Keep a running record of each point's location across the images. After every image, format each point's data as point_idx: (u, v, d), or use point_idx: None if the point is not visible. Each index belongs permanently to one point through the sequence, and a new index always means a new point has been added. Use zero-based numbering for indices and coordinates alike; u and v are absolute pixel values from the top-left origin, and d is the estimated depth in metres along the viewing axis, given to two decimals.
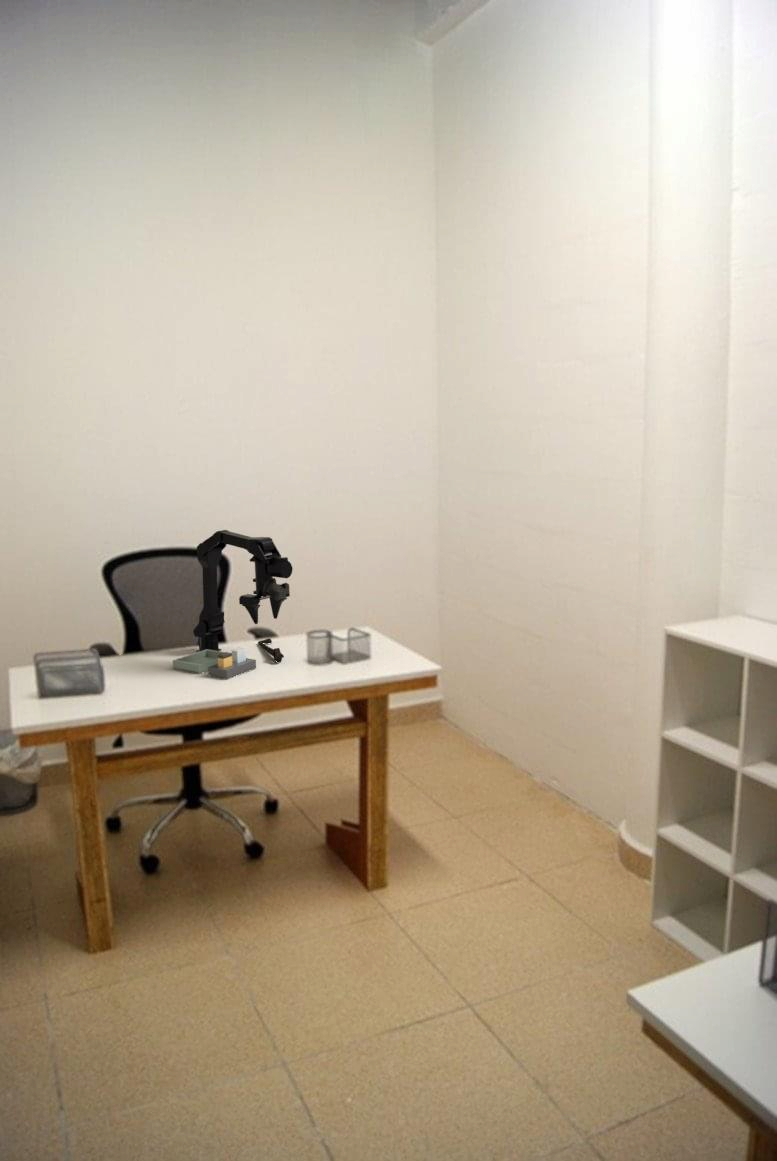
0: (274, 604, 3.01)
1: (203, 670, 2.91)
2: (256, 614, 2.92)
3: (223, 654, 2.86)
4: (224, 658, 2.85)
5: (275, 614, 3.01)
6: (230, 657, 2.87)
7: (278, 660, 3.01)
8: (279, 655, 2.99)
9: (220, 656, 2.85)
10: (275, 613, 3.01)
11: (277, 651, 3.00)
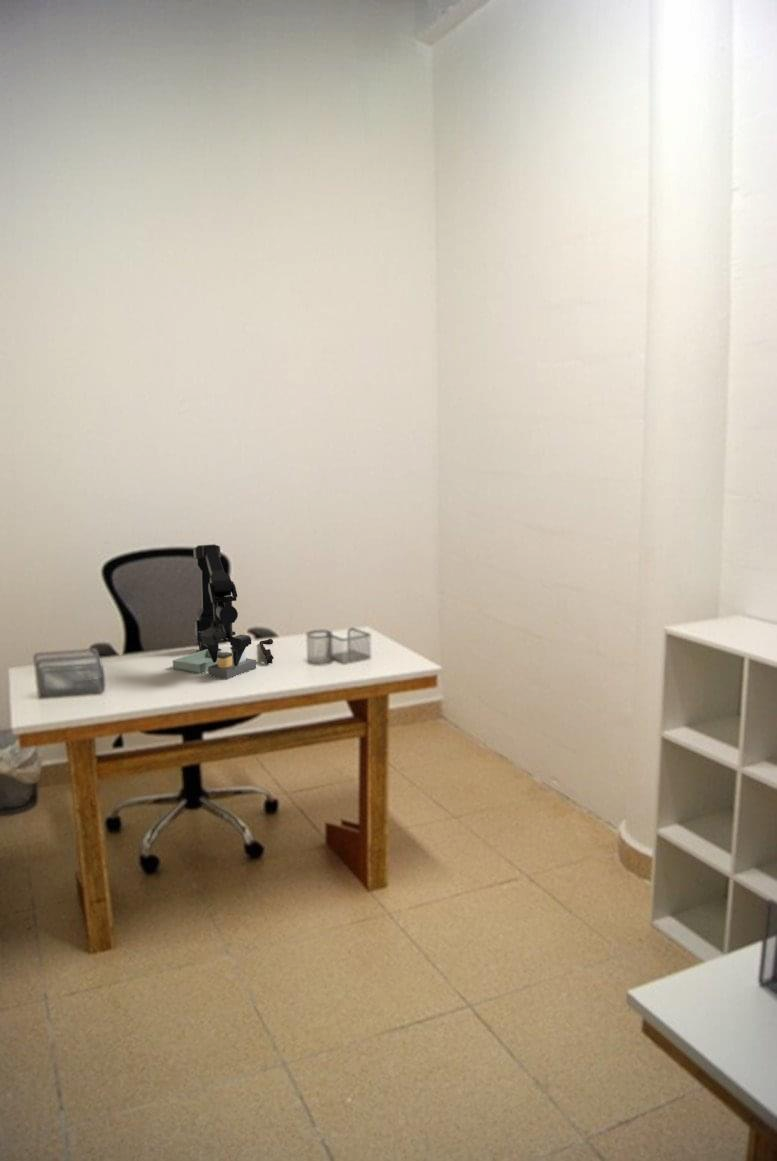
0: None
1: (203, 670, 2.91)
2: (209, 652, 2.89)
3: (223, 654, 2.86)
4: (224, 658, 2.85)
5: None
6: (230, 657, 2.87)
7: (268, 661, 2.99)
8: (269, 656, 2.98)
9: (220, 656, 2.85)
10: None
11: (267, 652, 2.99)
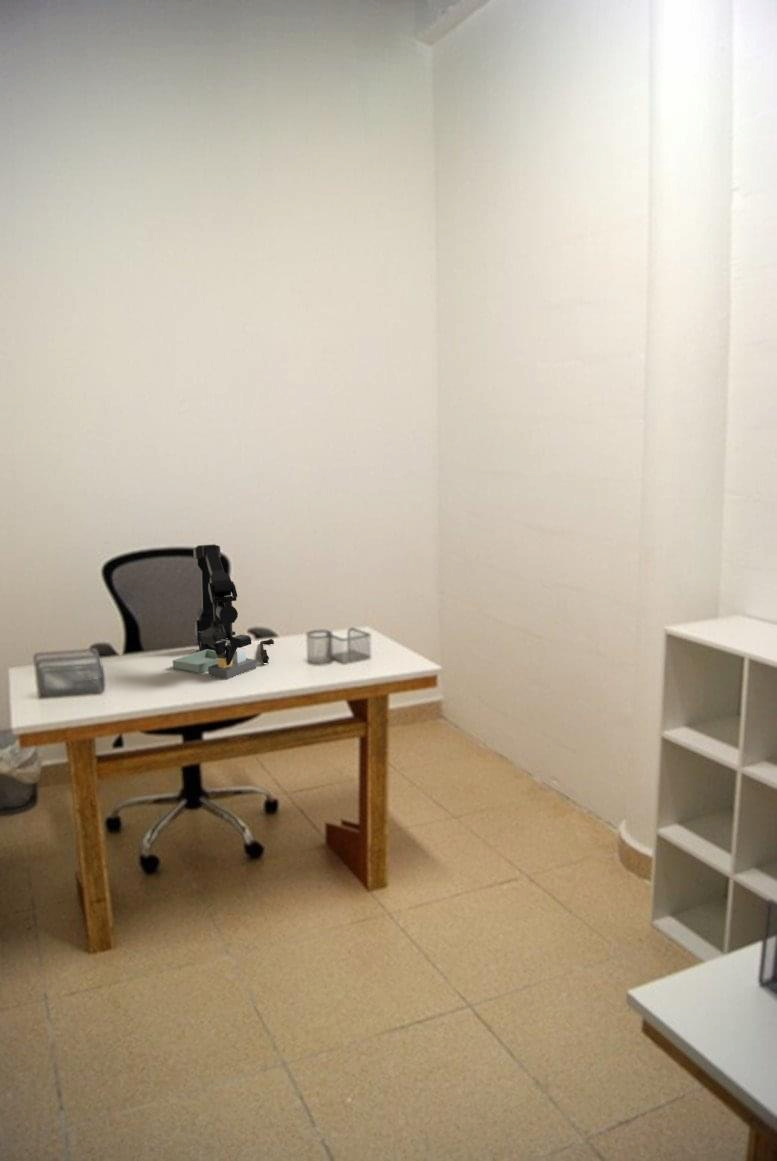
0: None
1: (203, 670, 2.91)
2: (217, 653, 2.87)
3: (223, 654, 2.86)
4: (224, 658, 2.85)
5: None
6: None
7: (264, 662, 2.99)
8: (264, 657, 2.98)
9: (220, 656, 2.85)
10: None
11: (263, 653, 2.99)
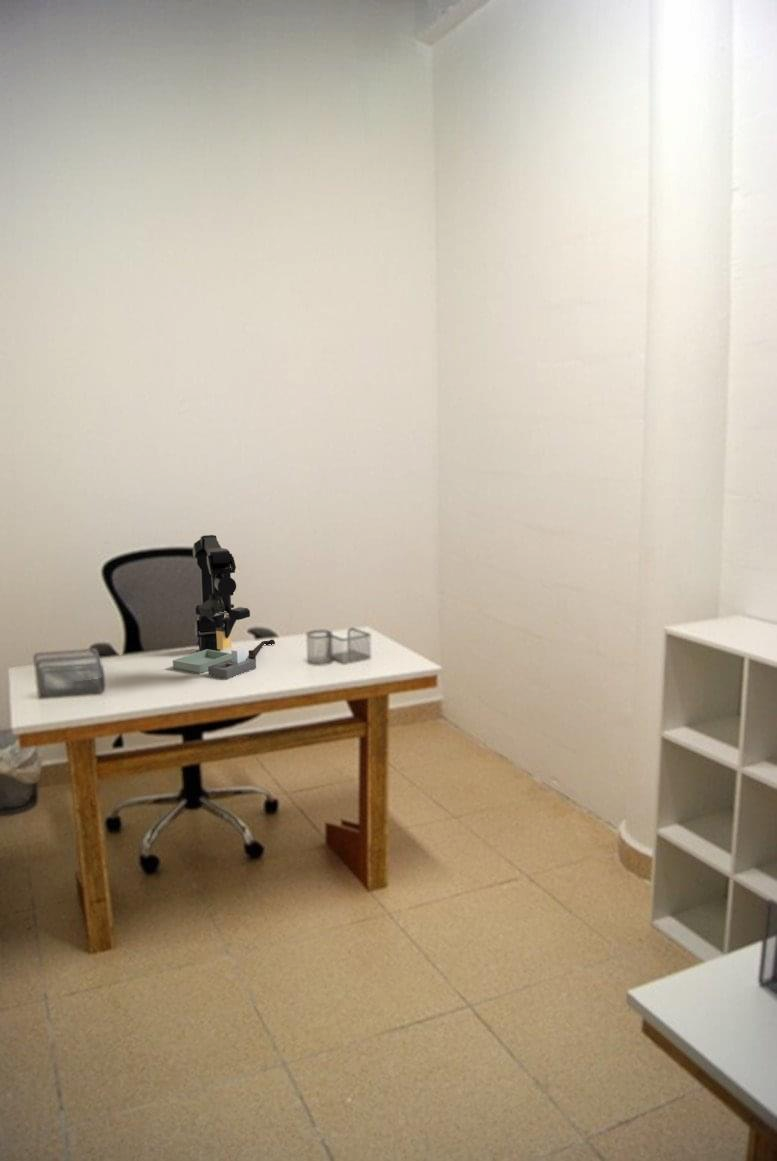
0: None
1: (203, 670, 2.91)
2: (215, 626, 2.85)
3: (222, 627, 2.84)
4: (223, 631, 2.83)
5: None
6: None
7: None
8: (251, 657, 2.97)
9: (219, 629, 2.83)
10: None
11: (250, 653, 2.98)
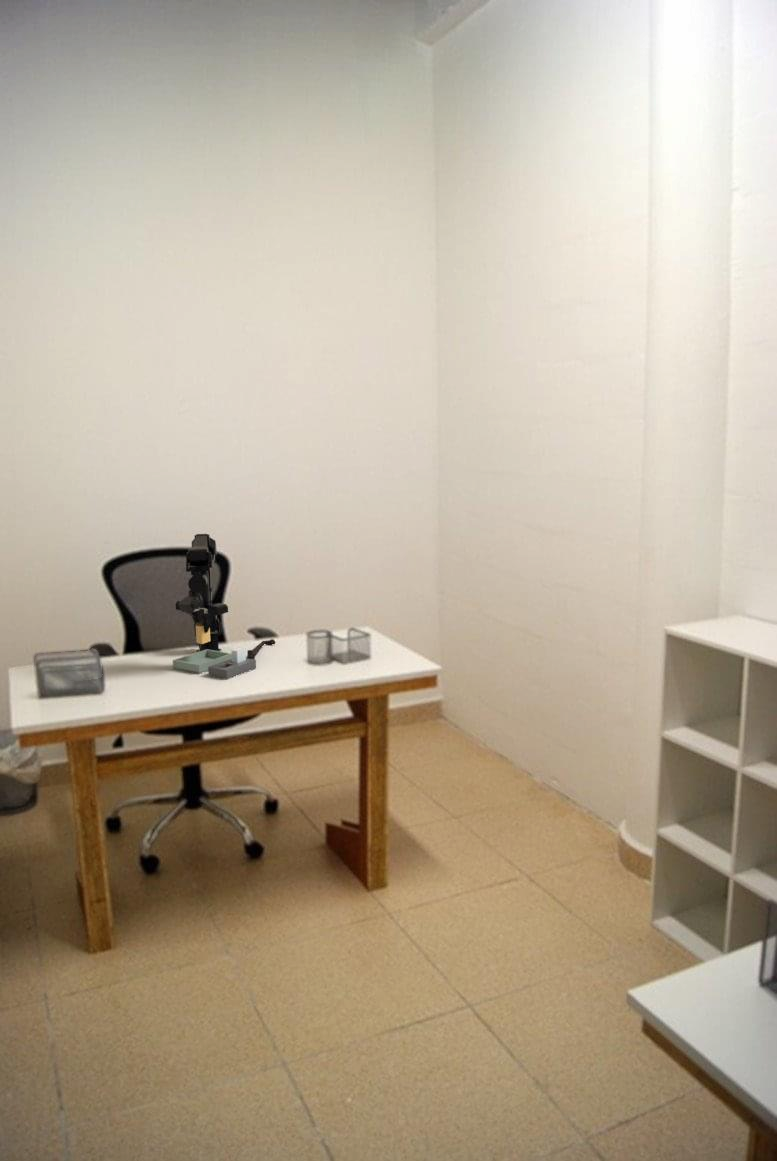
0: None
1: (203, 670, 2.91)
2: (195, 621, 2.96)
3: (201, 622, 2.95)
4: (202, 626, 2.94)
5: None
6: None
7: None
8: (249, 657, 2.97)
9: (198, 624, 2.94)
10: None
11: (249, 653, 2.98)
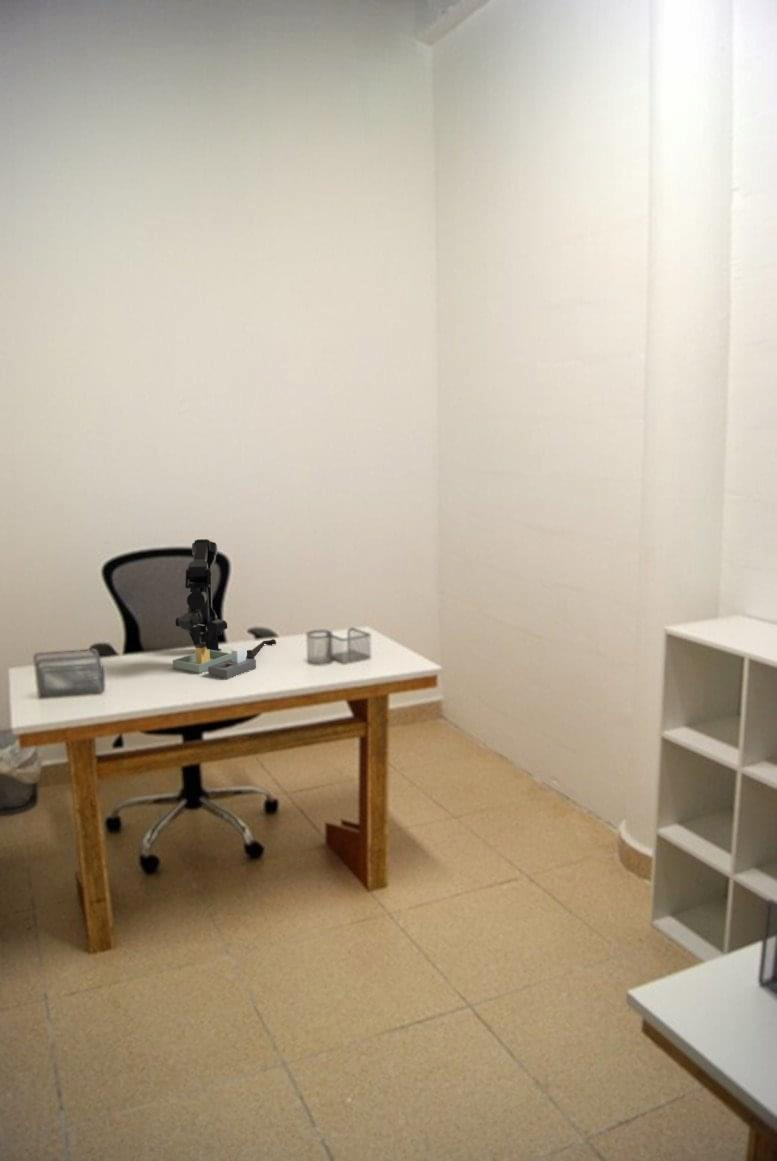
0: None
1: (203, 670, 2.91)
2: (192, 637, 2.98)
3: (200, 644, 2.97)
4: (201, 648, 2.96)
5: None
6: None
7: None
8: (248, 657, 2.97)
9: (197, 646, 2.96)
10: None
11: (248, 653, 2.98)
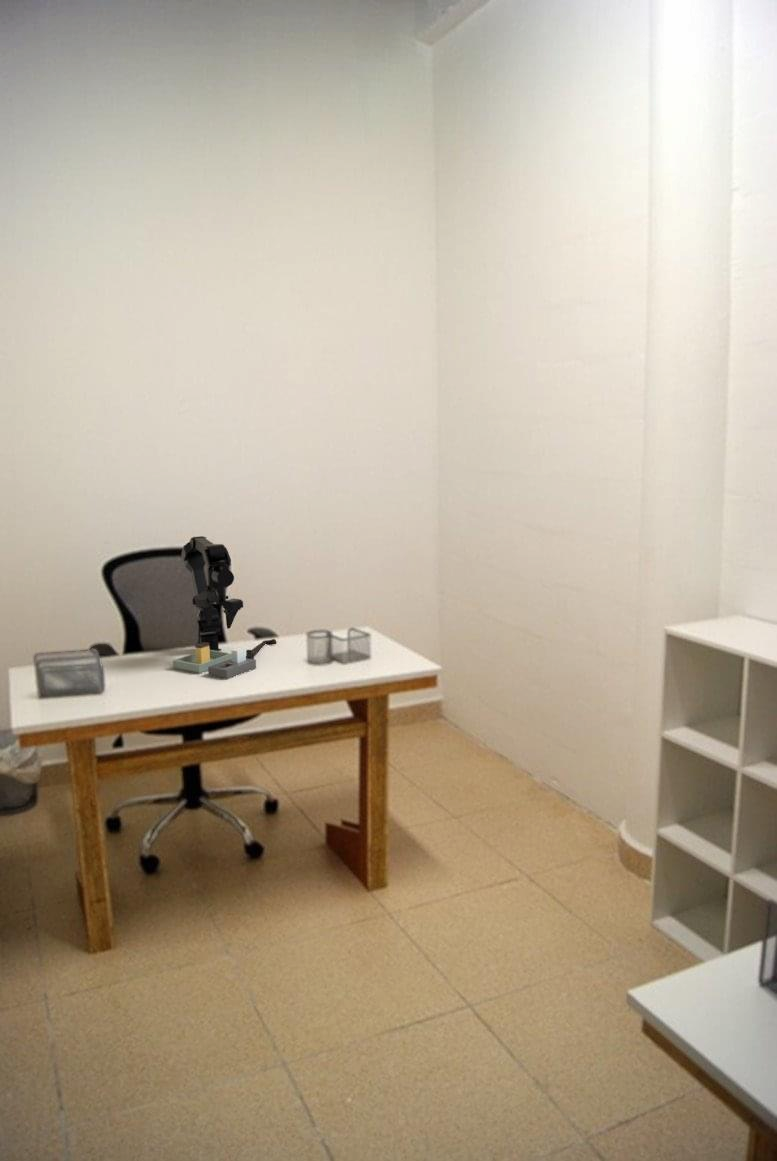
0: None
1: (203, 670, 2.91)
2: (204, 615, 3.04)
3: (200, 644, 2.97)
4: (201, 648, 2.96)
5: None
6: (207, 647, 2.98)
7: None
8: (248, 657, 2.98)
9: (197, 646, 2.96)
10: None
11: (248, 653, 2.99)
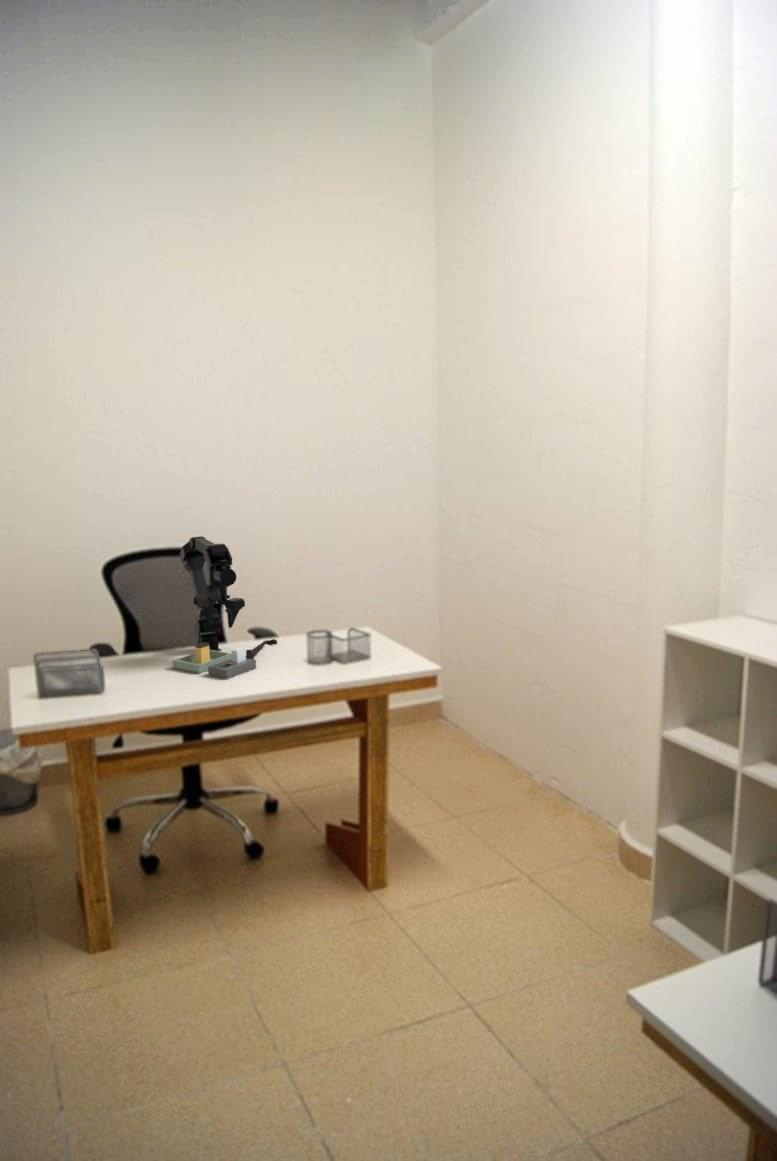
0: None
1: (203, 670, 2.91)
2: (205, 615, 3.04)
3: (200, 644, 2.97)
4: (201, 648, 2.96)
5: None
6: (207, 647, 2.98)
7: None
8: (248, 657, 2.98)
9: (197, 646, 2.96)
10: None
11: (247, 653, 2.99)
